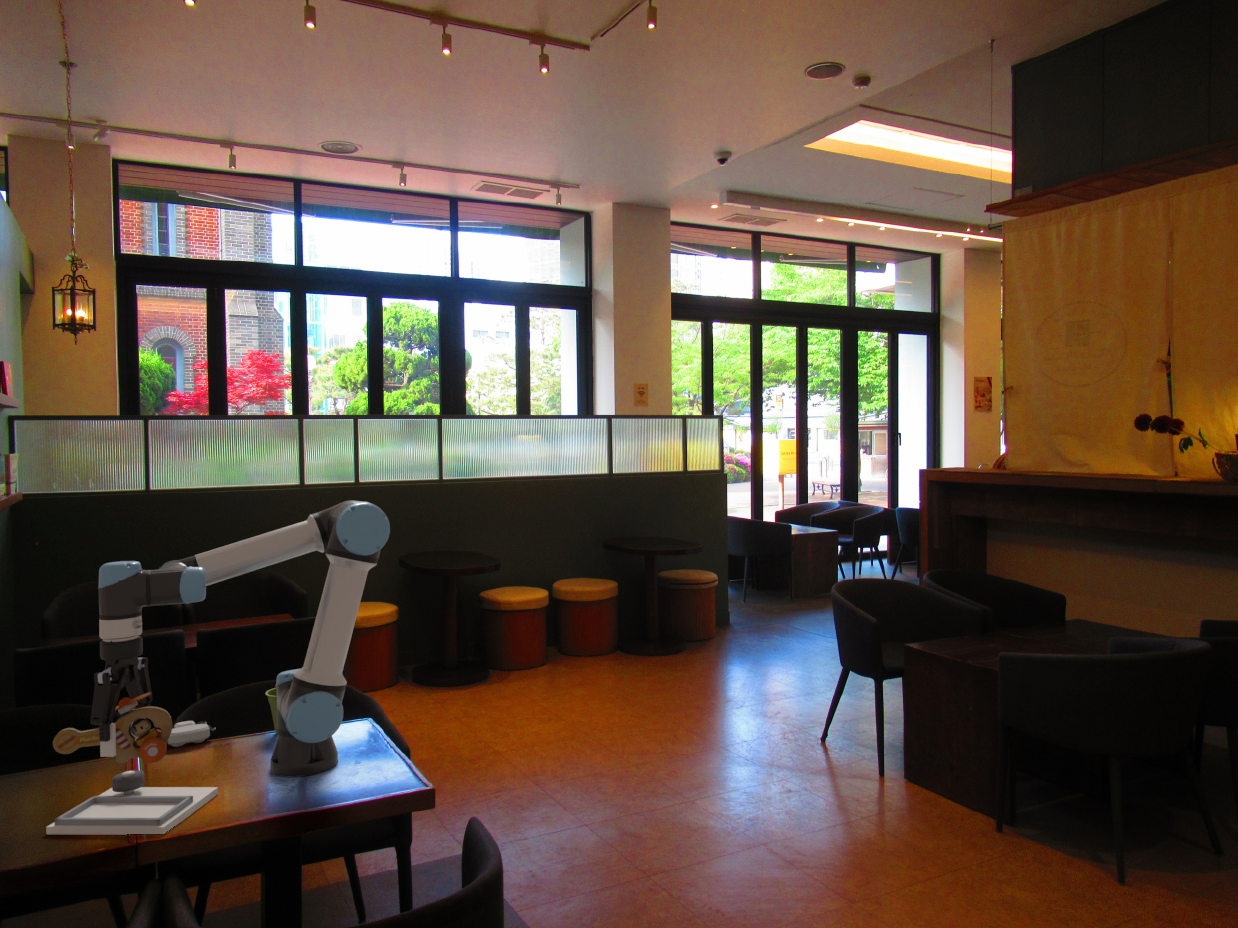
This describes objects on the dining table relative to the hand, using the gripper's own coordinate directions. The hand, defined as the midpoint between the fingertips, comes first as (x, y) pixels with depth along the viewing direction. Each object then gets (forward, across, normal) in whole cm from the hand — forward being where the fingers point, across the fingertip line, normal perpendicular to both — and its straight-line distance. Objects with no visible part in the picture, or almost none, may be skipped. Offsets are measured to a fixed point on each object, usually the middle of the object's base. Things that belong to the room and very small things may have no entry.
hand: (123, 747), depth 172 cm
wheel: (+12, +10, +6) cm, 17 cm away
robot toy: (+15, +49, +16) cm, 53 cm away
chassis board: (+15, +4, 0) cm, 15 cm away
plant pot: (+15, +56, -9) cm, 58 cm away
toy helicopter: (+3, -1, 0) cm, 3 cm away
